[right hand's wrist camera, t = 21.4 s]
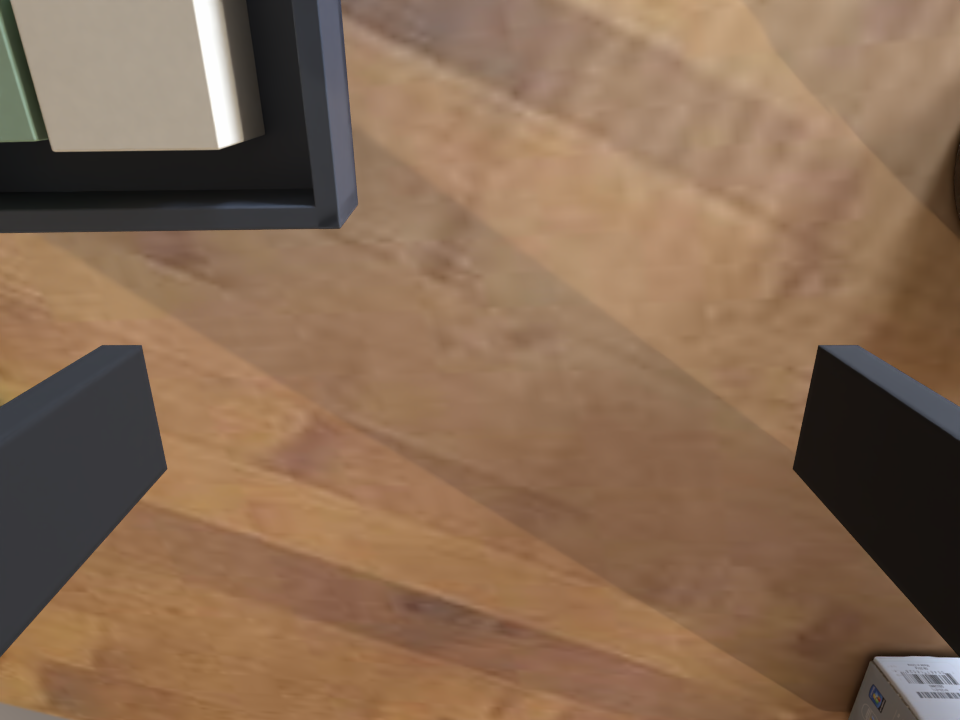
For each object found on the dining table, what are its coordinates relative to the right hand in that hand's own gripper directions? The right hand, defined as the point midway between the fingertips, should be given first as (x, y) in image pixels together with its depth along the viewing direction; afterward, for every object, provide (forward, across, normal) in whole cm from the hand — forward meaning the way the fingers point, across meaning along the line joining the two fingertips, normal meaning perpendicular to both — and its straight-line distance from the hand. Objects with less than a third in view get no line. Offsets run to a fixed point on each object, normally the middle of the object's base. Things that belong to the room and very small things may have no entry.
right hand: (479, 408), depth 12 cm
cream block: (+13, -10, +7) cm, 18 cm away
